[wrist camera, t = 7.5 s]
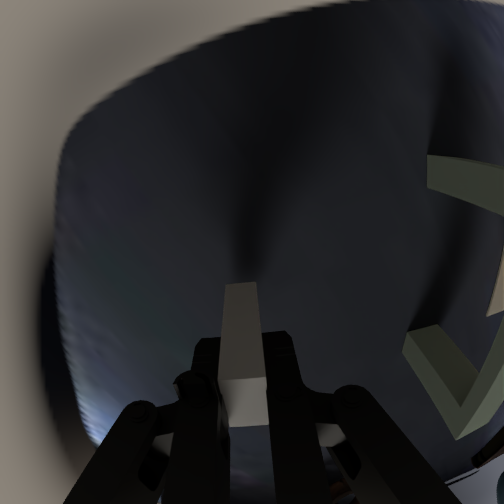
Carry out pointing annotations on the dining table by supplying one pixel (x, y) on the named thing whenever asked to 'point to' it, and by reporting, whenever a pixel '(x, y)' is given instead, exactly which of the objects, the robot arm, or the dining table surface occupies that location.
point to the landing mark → (498, 291)
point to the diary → (490, 450)
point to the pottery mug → (341, 491)
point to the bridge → (436, 340)
